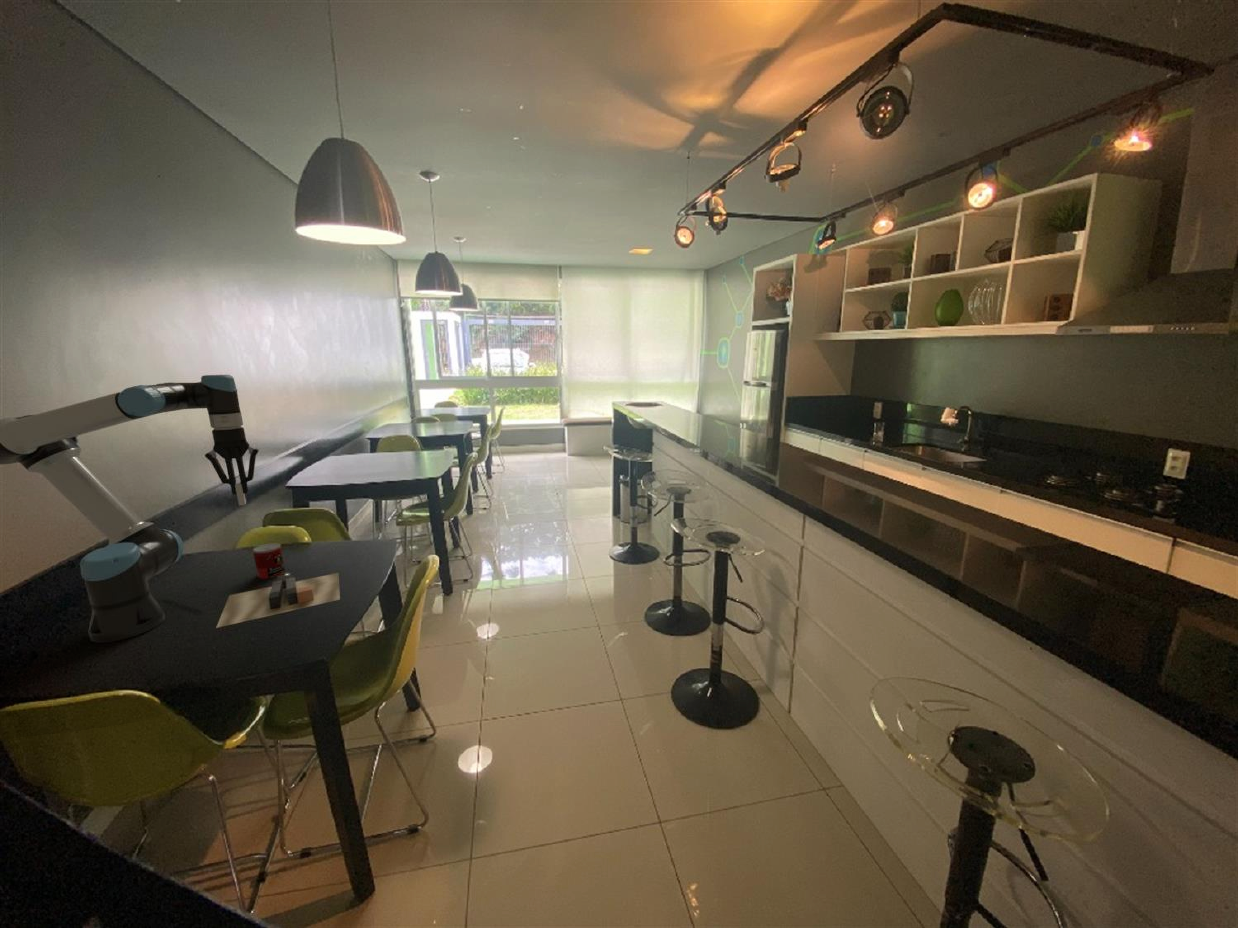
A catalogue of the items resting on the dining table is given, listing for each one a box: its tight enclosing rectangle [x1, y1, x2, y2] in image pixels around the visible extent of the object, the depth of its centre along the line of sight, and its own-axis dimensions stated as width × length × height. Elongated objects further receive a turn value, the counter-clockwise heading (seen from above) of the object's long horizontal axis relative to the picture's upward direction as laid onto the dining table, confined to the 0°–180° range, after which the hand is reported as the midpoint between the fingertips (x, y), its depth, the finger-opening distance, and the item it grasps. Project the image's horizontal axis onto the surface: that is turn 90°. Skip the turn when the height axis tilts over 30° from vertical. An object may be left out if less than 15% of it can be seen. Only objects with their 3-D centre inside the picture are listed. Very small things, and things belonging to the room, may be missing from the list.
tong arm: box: [286, 576, 298, 605], centre depth 152 cm, size 13×2×4 cm, turn 35°
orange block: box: [297, 586, 314, 603], centre depth 149 cm, size 4×3×4 cm
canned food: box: [252, 542, 286, 580], centre depth 167 cm, size 8×8×11 cm
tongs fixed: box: [269, 571, 292, 609], centre depth 152 cm, size 18×5×4 cm, turn 30°
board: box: [215, 572, 341, 629], centre depth 151 cm, size 30×22×1 cm
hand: (242, 503), depth 149 cm, fingers closed
